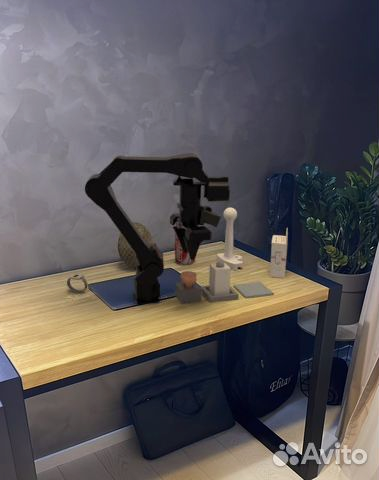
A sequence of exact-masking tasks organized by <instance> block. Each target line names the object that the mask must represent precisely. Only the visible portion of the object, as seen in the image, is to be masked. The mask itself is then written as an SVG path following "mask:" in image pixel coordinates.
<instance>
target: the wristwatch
mask: <svg viewBox="0 0 379 480" xmlns="http://www.w3.org/2000/svg"><path fill="white" fill-rule="evenodd" d="M71 280H78V281H82V282H83V284H84V285H83V286H84V287H83V288H84V289H80V290H79V289H75V288H74V287H73V286H72V284H71ZM66 285H67V287H68V288H69V290H70V291H71V292H74V293H77V294H78V293H82V292H84V291H86V290H87V289H88V285H89V284H88V281H87V280H86V278H85V275H84V274H77V273H73V274H71V275H70V276H69V278H67V281H66Z"/></svg>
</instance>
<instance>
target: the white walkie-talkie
mask: <svg viewBox="0 0 379 480" xmlns="http://www.w3.org/2000/svg"><path fill="white" fill-rule="evenodd" d="M288 235H289V232H288V227H286V233H285V235H277V234H273V235H272V238H271V250H270V251H271V252H270V268H269V269H270V270H269V277H270V278H282V279H285V275H286V265H287V256H288V255H287V254H288V238H289V237H288Z"/></svg>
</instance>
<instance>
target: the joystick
mask: <svg viewBox="0 0 379 480" xmlns="http://www.w3.org/2000/svg"><path fill="white" fill-rule="evenodd" d="M223 217H224V219H225V221H226V227H225V236H224V239H225V240H224V248H223V252H222V253H217V254H216V261H217V263H218V262H222V263H225V264H226V265H228V266H229V267H230V268H231V270H232V271H238V270H239V268H240V269H242V268H243V265H244V264H243V263H244V262H243V256H242V255H239V254H234V221H235V220H237V217H238V212H237V210H236V209H235V208H233V207H227V208H226V209H224V211H223Z"/></svg>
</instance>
